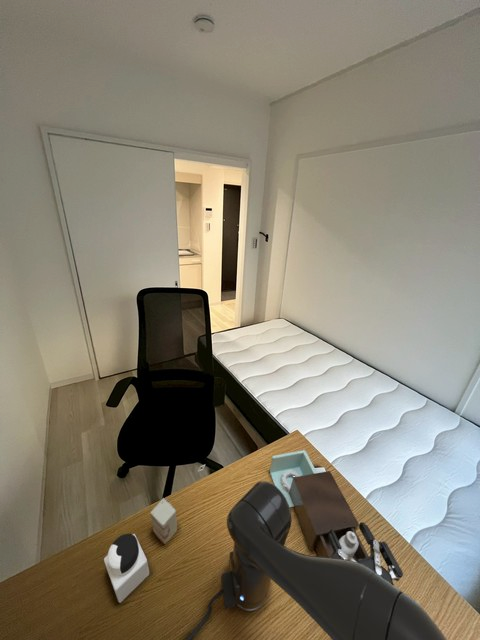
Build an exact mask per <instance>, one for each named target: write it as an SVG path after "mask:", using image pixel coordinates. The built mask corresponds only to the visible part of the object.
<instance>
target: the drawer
mask: <svg viewBox="0 0 480 640" xmlns="http://www.w3.org/2000/svg"><path fill="white" fill-rule="evenodd" d="M348 531H351V532H353V533H355V535H356V537H357V540H358V543H359V545H358V548H357V550H356V552H355V554H354V556H353V557H352V558H353V559H354V560H355V561H357V559H365V558H366V557H368V556H369V554H368V552H367V550H366V548H365V546H364V544H363V542H362V541H361V539H360V536H359V535H358V533H357V530H356V531H355V529H354V527H353V528H349V529H345V530H341V531H336V532H335V534H336V536H337V538H338V541H339V540H340V538H341V537H342V536H344V535H346V533H347V532H348ZM328 536H329V533H328V534H324V535H320V536H318V538H317V541H316V543H315V548H316V550H315V551H316V552H317V556H320V557H331V555H332V553H333V548H332V546H331V544H330V542H329V539H328ZM331 558H332V557H331Z"/></svg>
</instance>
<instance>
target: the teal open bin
mask: <svg viewBox="0 0 480 640" xmlns="http://www.w3.org/2000/svg"><path fill="white" fill-rule="evenodd" d="M269 473H270V476H271V478H272V479H271V480H272V481H273V484H274V485H275V486H276V487H277V488H278V489H279V490H280V491H281V492H282V493H283V495H284V496H285V498H286V500H287V502H288V504H289V507H290V508H294V505H293V503H292V500H291V497H290V494H289V491H290V488H291V484H292V480H293V476H295V477H299V476H304V475H310V474H315V473H318V472H317V470H316V468H315V466H314V464H313V462H312V460H311V458H310V457H309V454H308V452H307V451H306V449H303V450H297V451H292V452H286V453H281V454H276V455H275V454H274V455H272V456H271V461H270V466H269Z"/></svg>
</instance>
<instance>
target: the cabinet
mask: <svg viewBox="0 0 480 640" xmlns="http://www.w3.org/2000/svg"><path fill="white" fill-rule="evenodd" d="M289 494H290V497H291V500H292V503H293V505H294V506H293V509H294V512H295V514H296V517H297V519H298V522H299V524H300V527H301V530H302V533H303V536H304V539H305V542H306V544H307V546H308V549H309V552H311V551H317V550H316V548H315V543H316V541H317V538H318V536H320V535H324V534H328V533H329V531H330V530H332V529H333V530H334V532H336V531H341V530H345V529H349V528H353V527H354V529H355V531H356V532H357V530H358V529H359V524H360V523H359V522H358V520H357V518H356V515H355V514H354V512H353V511H352V508H351V507H350V505H349V503H348V502H347V499H346V498H345V496H344V494H343V492H342V491H341V488H340V487H339V485H338V483H337V481H336V479H335V477H334V476H333V474H332V471H330V470H328V471H322V472H317V473H315V474H310V475H304V476H299V477H293V480H292V484H291V488H290V491H289Z"/></svg>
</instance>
